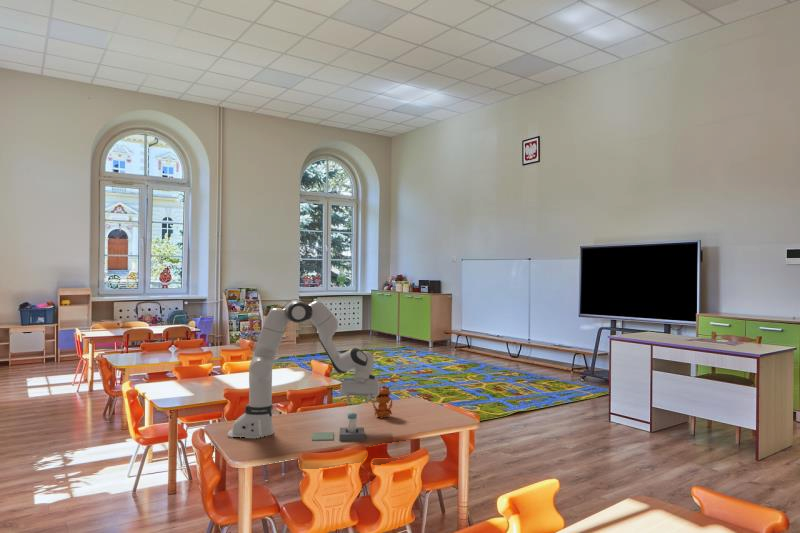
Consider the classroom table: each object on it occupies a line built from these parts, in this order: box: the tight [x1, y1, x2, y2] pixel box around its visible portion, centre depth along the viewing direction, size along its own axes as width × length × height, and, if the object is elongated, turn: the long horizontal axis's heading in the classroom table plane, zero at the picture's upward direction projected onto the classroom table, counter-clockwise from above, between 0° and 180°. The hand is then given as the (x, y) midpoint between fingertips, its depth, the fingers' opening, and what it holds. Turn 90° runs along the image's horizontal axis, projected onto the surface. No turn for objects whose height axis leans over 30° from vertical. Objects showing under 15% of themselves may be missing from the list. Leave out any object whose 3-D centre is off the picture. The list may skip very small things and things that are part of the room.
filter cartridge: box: [347, 412, 358, 433], centre depth 267 cm, size 4×4×11 cm
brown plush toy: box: [372, 385, 393, 418], centre depth 311 cm, size 11×11×18 cm
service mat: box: [311, 431, 335, 442], centre depth 266 cm, size 10×12×2 cm
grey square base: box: [338, 426, 366, 442], centre depth 267 cm, size 12×12×4 cm
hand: (357, 402), depth 277 cm, fingers open, 8 cm apart
